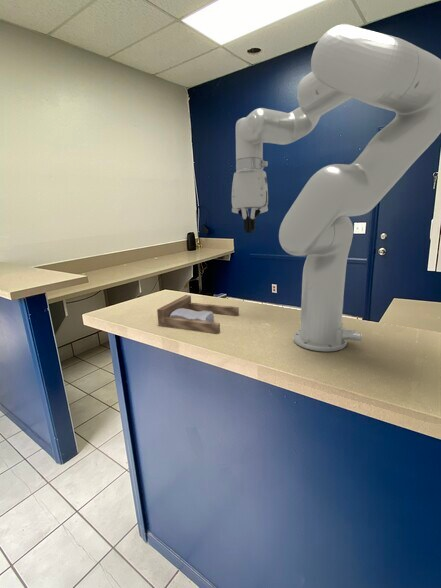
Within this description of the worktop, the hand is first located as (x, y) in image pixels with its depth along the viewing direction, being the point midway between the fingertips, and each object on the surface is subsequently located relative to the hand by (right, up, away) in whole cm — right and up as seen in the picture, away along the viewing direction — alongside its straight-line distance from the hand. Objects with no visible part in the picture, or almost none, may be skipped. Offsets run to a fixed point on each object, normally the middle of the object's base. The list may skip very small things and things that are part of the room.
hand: (249, 232), depth 92 cm
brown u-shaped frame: (-14, -26, +2) cm, 30 cm away
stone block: (-17, -27, +1) cm, 32 cm away
